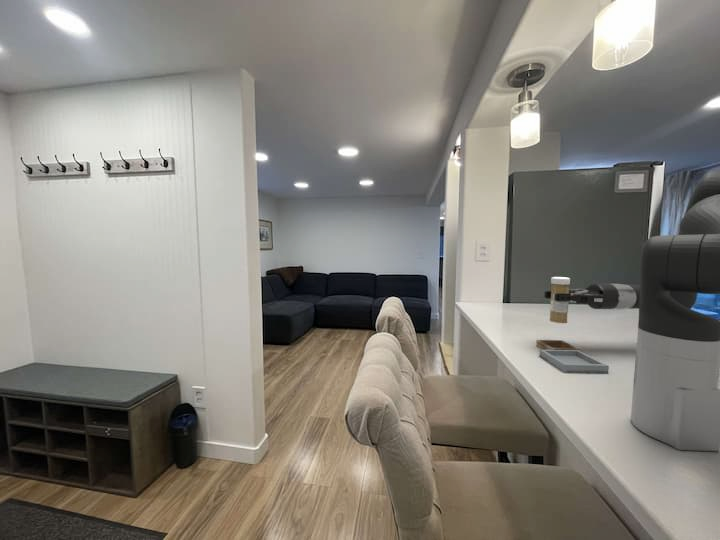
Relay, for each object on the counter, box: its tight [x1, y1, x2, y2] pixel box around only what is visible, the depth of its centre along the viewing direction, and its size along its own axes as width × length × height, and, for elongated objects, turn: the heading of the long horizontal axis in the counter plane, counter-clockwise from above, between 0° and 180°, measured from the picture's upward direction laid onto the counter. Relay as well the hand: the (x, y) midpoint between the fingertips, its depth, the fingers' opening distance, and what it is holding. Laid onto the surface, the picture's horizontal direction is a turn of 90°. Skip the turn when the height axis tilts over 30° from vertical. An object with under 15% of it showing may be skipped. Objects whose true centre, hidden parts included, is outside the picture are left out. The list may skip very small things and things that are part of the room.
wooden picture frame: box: [535, 339, 581, 351], centre depth 85 cm, size 8×8×2 cm
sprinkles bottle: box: [549, 276, 571, 324], centre depth 84 cm, size 5×5×14 cm
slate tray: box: [539, 349, 610, 374], centre depth 76 cm, size 11×11×2 cm
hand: (550, 296), depth 84 cm, fingers closed on sprinkles bottle, 4 cm apart
